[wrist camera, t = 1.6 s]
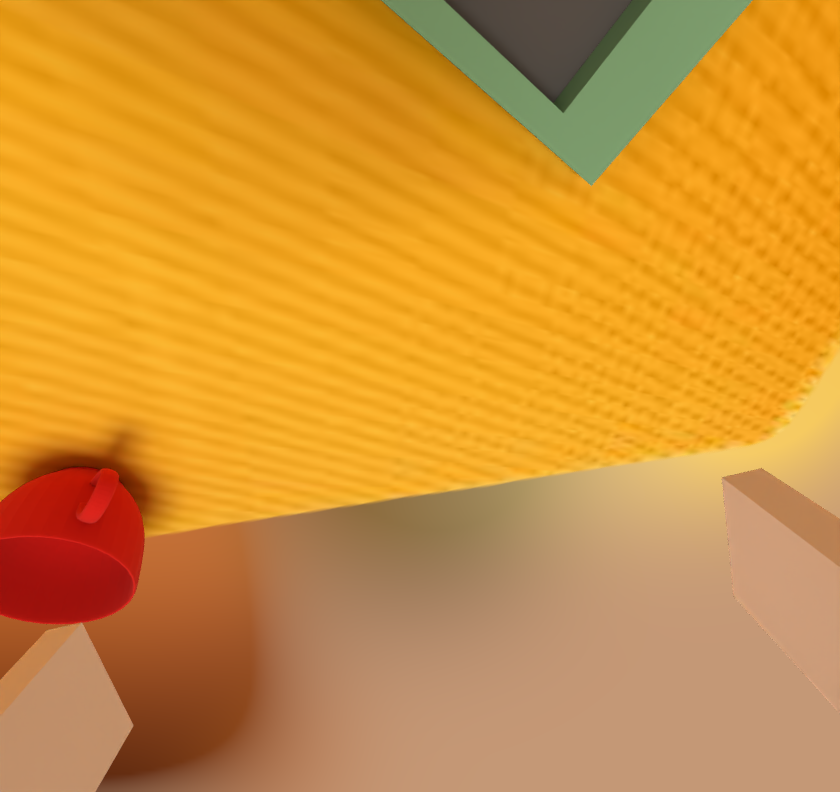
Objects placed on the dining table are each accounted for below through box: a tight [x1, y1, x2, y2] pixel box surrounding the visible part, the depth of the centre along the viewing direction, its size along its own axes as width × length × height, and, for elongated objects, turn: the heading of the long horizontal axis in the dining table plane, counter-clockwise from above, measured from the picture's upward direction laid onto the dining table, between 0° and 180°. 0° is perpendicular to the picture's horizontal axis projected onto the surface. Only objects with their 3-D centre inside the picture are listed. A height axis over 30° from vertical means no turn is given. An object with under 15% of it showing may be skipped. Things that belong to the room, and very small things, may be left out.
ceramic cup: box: [0, 467, 144, 624], centre depth 47 cm, size 13×17×10 cm
